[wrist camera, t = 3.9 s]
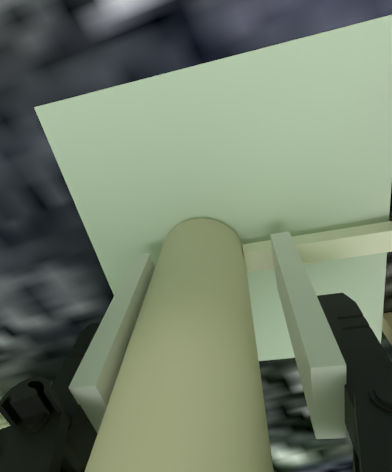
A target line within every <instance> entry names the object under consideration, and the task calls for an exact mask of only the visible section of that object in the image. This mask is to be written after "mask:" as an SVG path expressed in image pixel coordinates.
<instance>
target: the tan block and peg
mask: <svg viewBox="0 0 392 472" xmlns="http://www.w3.org/2000/svg"><path fill="white" fill-rule="evenodd" d="M292 239H293V242H294V244H295V246H296V249H297V251H298V253H299V256H300V258H301V260H302V263H303V264H308V263H315V262H322V261H329V260H336V259H343V258H350V257H357V256H364V255H371V254H378V253H385V252H392V221H388V222H382V223H375V224H369V225H363V226H356V227H350V228H344V229H337V230H331V231H324V232H318V233H312V234H305V235H299V236H293V237H292ZM273 268H275V267H274V259H273V251H272V243H271V240H267V241H261V242H255V243H248V244H242V243H241V240H240V239H239V237H238V236H237V234H236V233H235V232H234V231H233V230H232V229H231V228H230V227H228V226H227V225H225V224H223V223H221V222H219V221H216V220H212V219H206V218H197V219H191V220H187V221H185V222H182V223H181V224H179V225H177V226H176V227H174V228H173V229H172V230H171V231H170V232H169V234H168V235H167V237H166V238H165V240H164V243H163V246H162V249H161V252H160V255H159V257H158V260H157V263H156V266H155V269H154V272H153V275H152V278H151V281H150V284H149V286H148V289H147V292H146V295H145V298H144V301H143V304H142V307H141V310H140V312H139V315H138V318H137V321H136V324H135V327H134V330H133V333H132V336H131V339H130V341H129V344H128V347H127V350H126V353H125V356H124V359H123V362H122V365H121V368H120V370H119V373H118V376H117V379H116V382H115V385H114V388H113V391H112V394H111V396H110V399H109V402H108V405H107V408H106V411H105V414H104V417H103V420H102V423H101V425H100V428H99V431H98V434H97V437H96V440H95V443H94V446H93V449H92V451H91V454H90V457H89V460H88V463H87V466H86V469H85V472H274V471H273V464H272V456H271V449H270V442H269V434H268V427H267V419H266V412H265V405H264V397H263V390H262V382H261V375H260V368H259V360H258V353H257V345H256V338H255V331H254V323H253V316H252V309H251V301H250V294H249V286H248V279H247V272H252V271H259V270H266V269H273ZM246 270H247V272H246Z"/></svg>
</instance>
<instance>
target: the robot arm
mask: <svg viewBox="0 0 392 472" xmlns="http://www.w3.org/2000/svg"><path fill="white" fill-rule="evenodd" d="M270 235H271V243H272V251H273V259H274V267H275V275H276V283H277V289H278V293H279V297H280V301H281V304H282V308H283V312H284V316H285V320H286V324H287V328H288V332H289V336H290V339H291V343H292V347H293V351H294V355H295V359H296V363H297V367H298V371H299V375H300V378H301V382H302V386H303V390H304V394H305V398H306V402H307V406H308V410H309V414H310V417H311V421H312V425H313V429H314V433H315V437H316V439H332V438H347V430H348V433H349V436H350V439H351V441H352V444H353V472H392V362H391V361H390V359H389V357H388V356H387V354H386V352H385V351H384V349H383V347H382V345H381V344H380V342H379V340H378V339H377V337H376V335H375V334H374V332H373V330H372V329H371V328H370V326H369V323H368V322H367V320H366V318H365V317H364V316H363V313H362V312H361V310H360V308H359V307H358V305H357V303H356V302H355V301H354V300H352V299H351V298H350V297H348V296H347V295H346V294H344V293H335V294H327V295H318V296H317V295H316V293H315V291H314V288H313V286H312V284H311V281H310V279H309V277H308V274H307V272H306V270H305V267H304V265H303V263H302V260H301V258H300V256H299V253H298V251H297V249H296V246H295V244H294V242H293V239H292V237H291V235H290V232H289V231H288V232H281V233H275V234H270ZM154 269H155V266H154V263H153V260H152V257H151V254H150V253H147V254H141V255H135V256H134V257H133V259H132V261H131V263H130V265H129V267H128V269H127V271H126V273H125V275H124V277H123V279H122V281H121V283H120V285H119V287H118V289H117V291H116V293H115V295H114V297H113V299H112V301H111V303H110V305H109V307H108V309H107V311H106V313H105V315H104V317H103V319H102V321H101V323H92V324H90V325H89V326H88V327H87V328H86V329H85V330H84V331H83V332H82V333H81V334H80V335H79V337H78V339H77V341H76V343H75V344H74V346H73V349H72V350H71V352H70V353H69V355H68V359H66V361H65V362H64V364H63V366H62V368H61V370H60V371H59V373H58V375H57V377H56V379H55V380H54V382H53V384H52V386H51V385H50V384H49V382H48V381H47V379H46V378H43V377H40V376H38V377H32V378H29V379H27V380H24V381H22V382H20V383H19V384H17V385H16V386H14V387H13V388H12V389H10V390H9V391H8V392H7V394H6V395H5V396H4V397H3V398H2V399H1V401H0V413H1V414H2V415H3V416H4V418H5V419H6V420H7V421H8V423H9V424H10V425H11V426H8V427H6V428H3V429H1V430H0V472H85V469H86V466H87V463H88V460H89V457H90V454H91V451H92V449H93V446H94V443H95V440H96V437H97V434H98V431H99V428H100V425H101V423H102V420H103V417H104V414H105V411H106V408H107V405H108V402H109V399H110V396H111V394H112V391H113V388H114V385H115V382H116V379H117V376H118V373H119V370H120V368H121V365H122V362H123V359H124V356H125V353H126V350H127V347H128V344H129V341H130V339H131V336H132V333H133V330H134V327H135V324H136V321H137V318H138V315H139V312H140V310H141V307H142V304H143V301H144V298H145V295H146V292H147V289H148V286H149V284H150V281H151V278H152V275H153V272H154Z"/></svg>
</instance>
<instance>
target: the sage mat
mask: <svg viewBox="0 0 392 472" xmlns="http://www.w3.org/2000/svg"><path fill="white" fill-rule="evenodd" d="M34 108H35V111H36V113H37V115H38V118H39V120H40V123H41V125H42V127H43V130H44V132H45V134H46V137H47V139H48V141H49V144H50V146H51V148H52V151H53V153H54V156H55V158H56V160H57V163H58V165H59V167H60V170H61V172H62V174H63V177H64V179H65V181H66V184H67V186H68V189H69V191H70V193H71V196H72V198H73V200H74V203H75V205H76V207H77V210H78V212H79V214H80V217H81V219H82V221H83V224H84V226H85V229H86V231H87V233H88V236H89V238H90V240H91V243H92V245H93V247H94V250H95V252H96V254H97V257H98V259H99V262H100V264H101V266H102V269H103V271H104V273H105V276H106V278H107V280H108V283H109V285H110V287H111V290H112V292H113V295H115V293H116V291H117V289H118V287H119V285H120V283H121V281H122V279H123V277H124V275H125V273H126V271H127V269H128V267H129V265H130V263H131V261H132V259H133V257H134V256H135V255H141V254H147V253H150V254H151V257H152V260H153V263H154V266H156V263H157V260H158V257H159V255H160V252H161V249H162V246H163V243H164V240H165V238H166V237H167V235H168V234H169V232H170V231H171V230H172V229H173V228H174V227H176V226H177V225H179V224H181V223H182V222H185V221H187V220H191V219H197V218H206V219H212V220H216V221H219V222H221V223H223V224H225V225H227V226H228V227H230V228H231V229H232V230H233V231H234V232H235V233H236V234H237V236H238V237H239V239H240V240H241V243H242V244H248V243H255V242H261V241H267V240H271V235H270V234H275V233H281V232H288V231H289V232H290V235H291V237H293V236H299V235H305V234H312V233H318V232H324V231H331V230H337V229H344V228H350V227H356V226H363V225H369V224H375V223H382V222H388V221H389V213H390V198H391V183H392V15H389V16H385V17H381V18H377V19H373V20H370V21H366V22H362V23H358V24H354V25H350V26H346V27H342V28H339V29H335V30H331V31H327V32H323V33H319V34H315V35H312V36H308V37H304V38H300V39H296V40H292V41H288V42H285V43H281V44H277V45H273V46H269V47H265V48H261V49H258V50H254V51H250V52H246V53H242V54H238V55H234V56H231V57H227V58H223V59H219V60H215V61H211V62H207V63H204V64H200V65H196V66H192V67H188V68H184V69H180V70H177V71H173V72H169V73H165V74H161V75H157V76H153V77H150V78H146V79H142V80H138V81H134V82H130V83H126V84H122V85H119V86H115V87H111V88H107V89H103V90H99V91H95V92H92V93H88V94H84V95H80V96H76V97H72V98H68V99H65V100H61V101H57V102H53V103H49V104H45V105H41V106H38V107H34ZM386 259H387V252H385V253H378V254H371V255H364V256H357V257H350V258H343V259H336V260H329V261H322V262H315V263H308V264H303V265H304V267H305V270H306V272H307V274H308V277H309V279H310V281H311V284H312V286H313V288H314V291H315V293H316V295H317V296H318V295H327V294H335V293H344V294H346V295H347V296H348V297H350V298H351V299H352V300H354V301H355V302H356V303H357V305H358V307H359V308H360V310H361V312H362V313H363V316H364V317H365V318H366V320H367V322H368V323H369V326H370V328H371V329H372V330H373V332H374V334H375V335H376V337H377V339H378V340H379V342H380V344H381V335H382V320H383V305H384V290H385V274H386ZM246 272H247V270H246ZM247 279H248V286H249V294H250V301H251V309H252V316H253V323H254V331H255V338H256V345H257V353H258V360H259V361H265V360H275V359H286V358H295V355H294V351H293V347H292V343H291V339H290V336H289V332H288V328H287V324H286V320H285V316H284V312H283V308H282V304H281V301H280V297H279V293H278V289H277V283H276V275H275V268H273V269H266V270H259V271H252V272H247Z"/></svg>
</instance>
